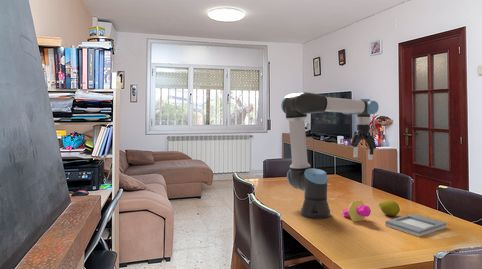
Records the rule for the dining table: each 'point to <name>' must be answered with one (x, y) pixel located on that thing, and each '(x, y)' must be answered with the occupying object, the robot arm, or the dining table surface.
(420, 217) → the baseplate
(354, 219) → the toy
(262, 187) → the dining table surface
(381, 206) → the lemon
